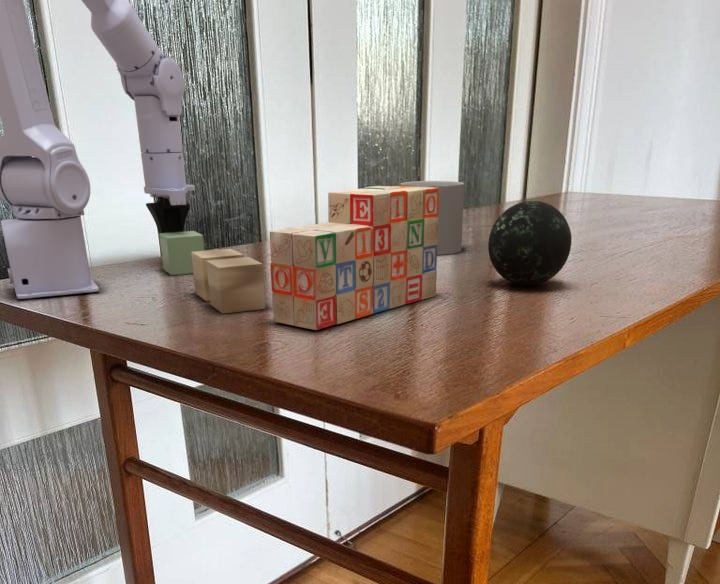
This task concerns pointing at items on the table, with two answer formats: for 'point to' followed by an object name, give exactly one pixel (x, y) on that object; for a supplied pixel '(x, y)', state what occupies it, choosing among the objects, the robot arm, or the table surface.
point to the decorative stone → (529, 243)
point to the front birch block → (236, 284)
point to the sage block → (179, 251)
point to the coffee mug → (447, 213)
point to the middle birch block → (201, 268)
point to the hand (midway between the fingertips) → (173, 253)
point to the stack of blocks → (357, 257)
